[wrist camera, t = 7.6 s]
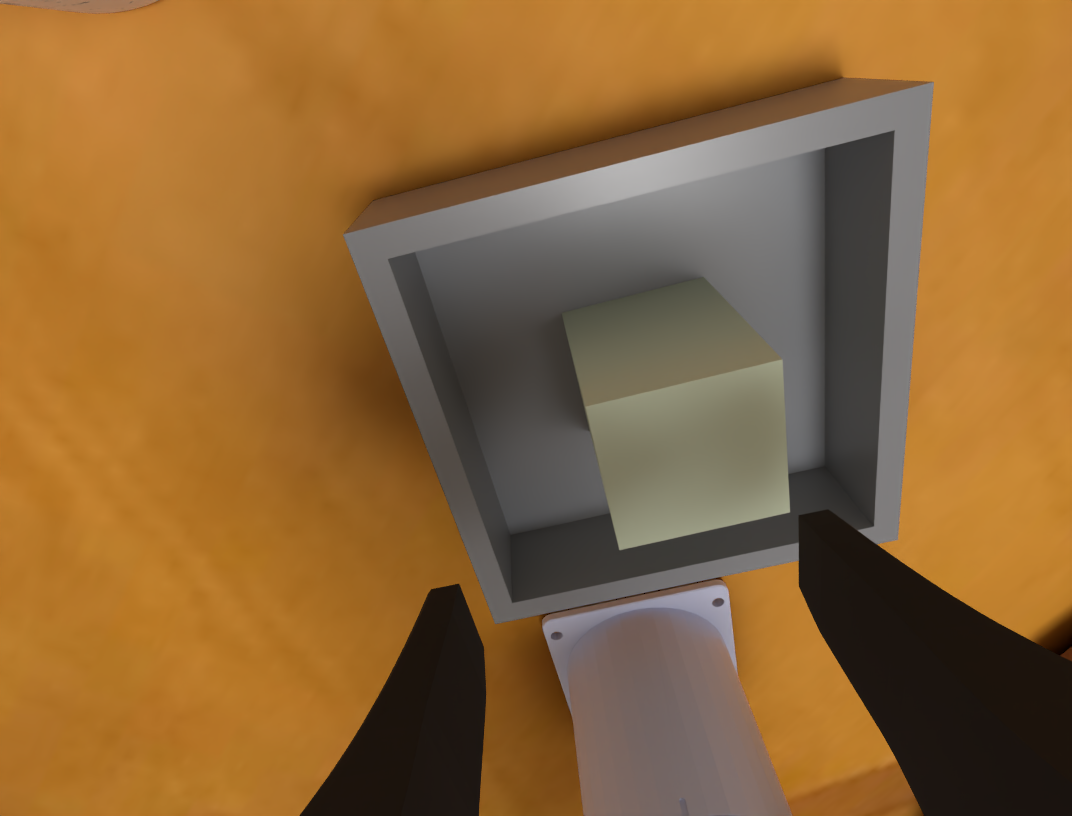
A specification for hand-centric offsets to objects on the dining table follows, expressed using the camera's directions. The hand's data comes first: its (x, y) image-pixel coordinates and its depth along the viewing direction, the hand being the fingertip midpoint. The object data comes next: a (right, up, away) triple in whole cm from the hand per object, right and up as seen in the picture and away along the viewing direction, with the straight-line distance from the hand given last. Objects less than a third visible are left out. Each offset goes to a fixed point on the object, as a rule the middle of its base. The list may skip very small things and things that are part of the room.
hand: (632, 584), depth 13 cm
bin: (+1, +6, +8) cm, 10 cm away
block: (+1, +5, +7) cm, 9 cm away
